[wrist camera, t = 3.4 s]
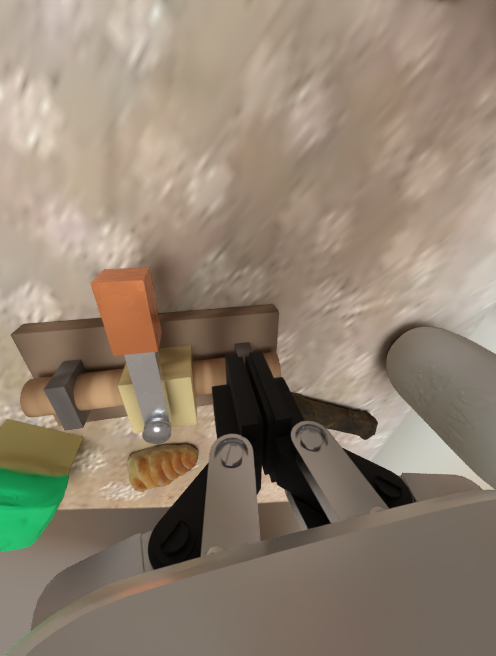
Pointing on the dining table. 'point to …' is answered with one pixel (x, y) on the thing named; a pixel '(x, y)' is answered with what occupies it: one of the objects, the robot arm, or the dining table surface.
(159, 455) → the pastry
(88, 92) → the dining table surface
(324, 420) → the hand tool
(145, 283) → the valve lever
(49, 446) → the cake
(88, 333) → the pipe board
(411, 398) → the grey bottle
